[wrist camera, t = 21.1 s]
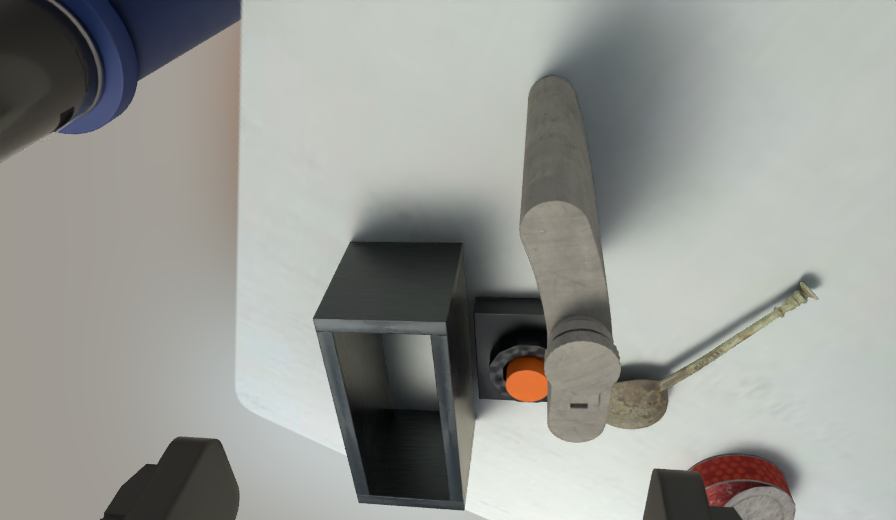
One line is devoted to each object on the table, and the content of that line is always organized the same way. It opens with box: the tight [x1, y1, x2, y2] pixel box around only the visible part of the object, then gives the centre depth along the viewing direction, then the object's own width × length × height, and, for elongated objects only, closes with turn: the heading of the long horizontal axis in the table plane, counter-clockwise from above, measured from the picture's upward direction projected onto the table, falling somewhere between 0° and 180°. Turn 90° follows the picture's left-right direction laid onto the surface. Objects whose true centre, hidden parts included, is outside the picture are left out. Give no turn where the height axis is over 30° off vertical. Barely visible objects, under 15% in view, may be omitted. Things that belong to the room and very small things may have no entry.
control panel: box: [474, 297, 547, 403], centre depth 54 cm, size 9×10×4 cm
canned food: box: [688, 454, 796, 520], centre depth 60 cm, size 11×10×10 cm
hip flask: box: [519, 76, 621, 443], centre depth 38 cm, size 16×4×20 cm, turn 11°
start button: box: [506, 356, 547, 402], centre depth 52 cm, size 4×4×2 cm
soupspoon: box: [606, 282, 818, 429], centre depth 53 cm, size 22×3×7 cm
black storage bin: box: [313, 242, 475, 510], centre depth 53 cm, size 10×21×10 cm, turn 4°
